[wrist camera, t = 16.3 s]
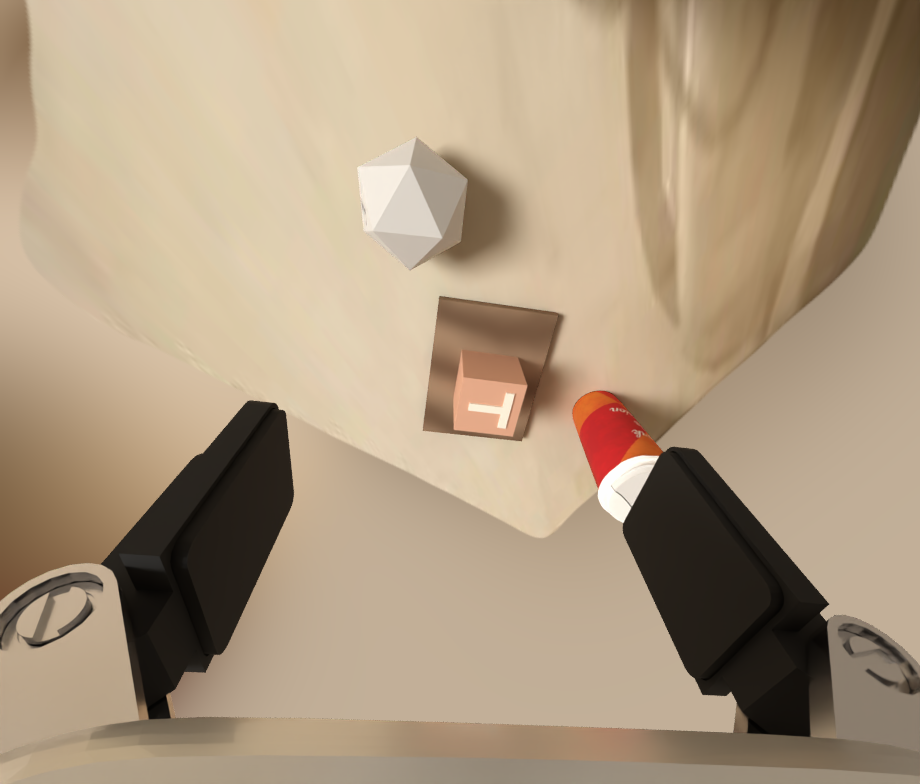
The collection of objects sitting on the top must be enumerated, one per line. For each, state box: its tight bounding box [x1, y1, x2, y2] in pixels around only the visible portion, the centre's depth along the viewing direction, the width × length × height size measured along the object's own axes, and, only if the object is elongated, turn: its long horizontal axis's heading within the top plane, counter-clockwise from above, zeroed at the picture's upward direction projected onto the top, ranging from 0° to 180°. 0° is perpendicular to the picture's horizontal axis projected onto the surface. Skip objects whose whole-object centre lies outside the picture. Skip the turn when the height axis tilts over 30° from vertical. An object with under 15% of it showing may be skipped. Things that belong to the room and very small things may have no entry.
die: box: [357, 137, 468, 270], centre depth 30 cm, size 8×9×10 cm
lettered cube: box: [453, 350, 527, 437], centre depth 39 cm, size 6×6×6 cm
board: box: [423, 296, 558, 441], centre depth 42 cm, size 16×12×1 cm
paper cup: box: [572, 391, 663, 523], centre depth 40 cm, size 8×8×14 cm
